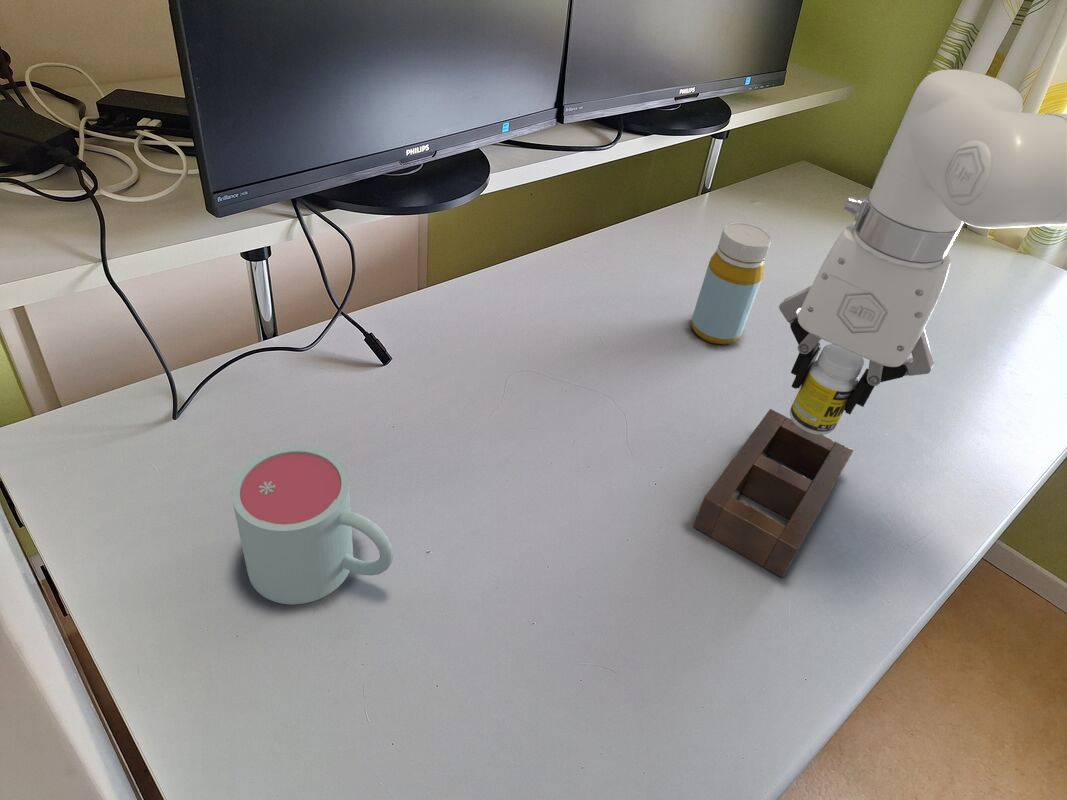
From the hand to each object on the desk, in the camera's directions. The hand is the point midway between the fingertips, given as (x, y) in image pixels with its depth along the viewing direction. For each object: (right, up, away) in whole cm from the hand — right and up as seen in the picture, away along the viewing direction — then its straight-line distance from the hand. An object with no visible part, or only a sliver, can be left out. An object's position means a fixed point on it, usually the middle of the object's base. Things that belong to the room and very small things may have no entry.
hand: (825, 392), depth 75 cm
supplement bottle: (0, -3, +3) cm, 4 cm away
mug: (-48, -16, -7) cm, 51 cm away
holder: (-4, -12, +6) cm, 14 cm away
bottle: (-4, +9, +29) cm, 31 cm away
